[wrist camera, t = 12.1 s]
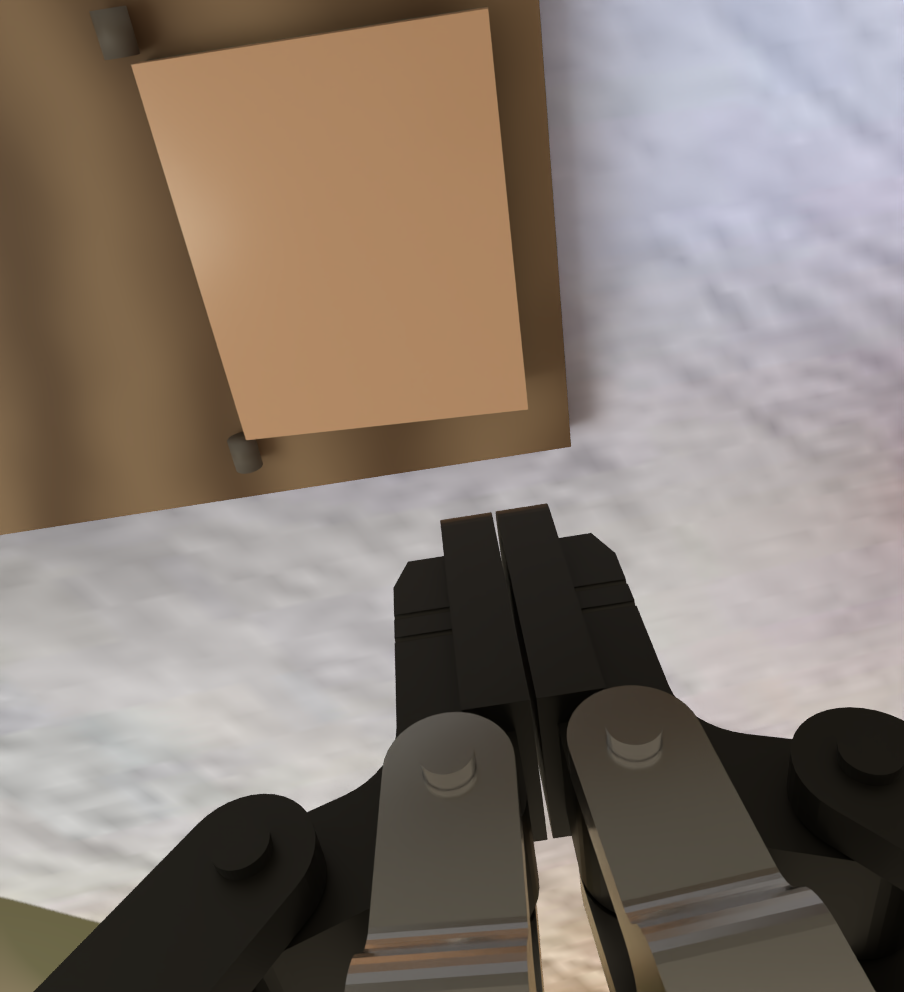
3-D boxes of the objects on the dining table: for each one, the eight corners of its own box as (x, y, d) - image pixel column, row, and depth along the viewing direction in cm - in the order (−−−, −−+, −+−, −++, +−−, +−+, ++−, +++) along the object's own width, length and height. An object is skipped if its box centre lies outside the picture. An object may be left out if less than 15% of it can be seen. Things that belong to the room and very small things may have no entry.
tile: (131, 64, 23) (145, 60, 24) (246, 440, 30) (253, 424, 31) (488, 8, 22) (487, 6, 23) (528, 409, 29) (526, 394, 30)
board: (-27, 520, 34) (-55, 558, 32) (-300, 9, 24) (-367, 13, 22) (563, 428, 34) (576, 460, 31) (521, -127, 24) (535, -137, 22)
